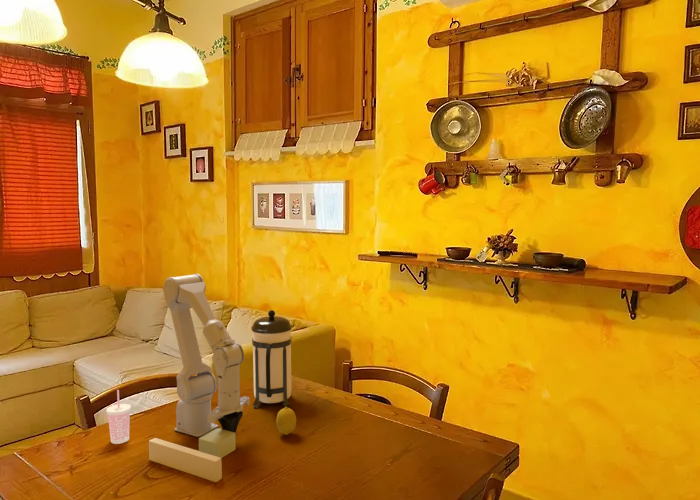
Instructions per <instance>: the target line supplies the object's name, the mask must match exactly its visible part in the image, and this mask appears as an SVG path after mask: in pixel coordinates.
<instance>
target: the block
mask: <svg viewBox="0 0 700 500" xmlns="http://www.w3.org/2000/svg"><path fill="white" fill-rule="evenodd" d="M236 443H237V442H236V435H235V433H234V432H231V431H227V430H223V429H222V428H219V427H217V428H215V429H213V430H211V431H209V432H207V433H206V434H204V435H202V436H200V437H198V451H200V452H204V453H207V454H210V455H213V456H217V457H220V458H221V459H223V458H224V457H226V456H227V455H229V454H230V453H232V452H234V451H235V450H237V449H236V448H237V447H236Z"/></svg>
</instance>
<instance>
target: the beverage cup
mask: <svg viewBox="0 0 700 500" xmlns="http://www.w3.org/2000/svg"><path fill="white" fill-rule="evenodd" d="M116 395H117V399H116V400H117V401H116V402H117V404H114V405H110V406H108V407H107V408H106V414H107V418H108V426H109V427H108V428H109V435H110V442H111V443H112V444H113V445H117V444H118V445H119V444H120V445H121V444H123V443H126V442H128V441H129V440H130V425H131V424H130V423H131V422H130V421H131V418H130V413H131V411H132V410H131V409H132V405H131V404H129V403H120V390H119V389H117V390H116Z"/></svg>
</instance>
